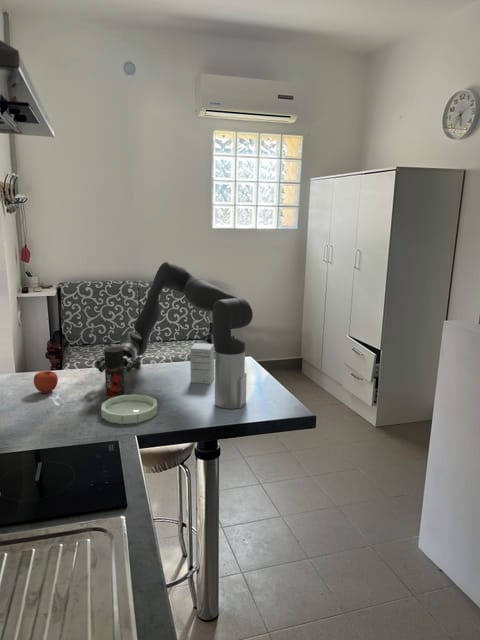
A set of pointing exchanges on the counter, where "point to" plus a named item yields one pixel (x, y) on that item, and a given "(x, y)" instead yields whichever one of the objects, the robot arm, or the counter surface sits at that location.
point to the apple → (45, 381)
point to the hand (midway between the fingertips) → (114, 369)
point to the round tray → (129, 409)
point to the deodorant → (114, 371)
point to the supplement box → (202, 363)
